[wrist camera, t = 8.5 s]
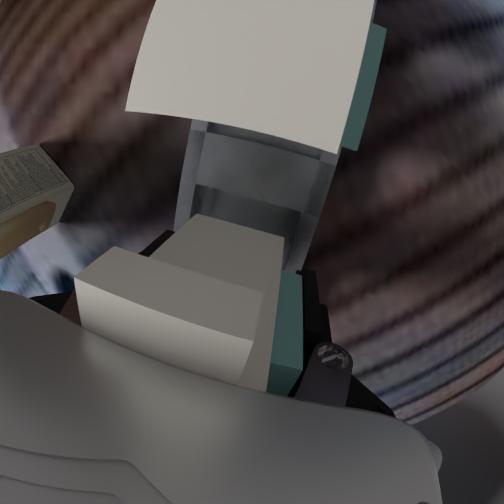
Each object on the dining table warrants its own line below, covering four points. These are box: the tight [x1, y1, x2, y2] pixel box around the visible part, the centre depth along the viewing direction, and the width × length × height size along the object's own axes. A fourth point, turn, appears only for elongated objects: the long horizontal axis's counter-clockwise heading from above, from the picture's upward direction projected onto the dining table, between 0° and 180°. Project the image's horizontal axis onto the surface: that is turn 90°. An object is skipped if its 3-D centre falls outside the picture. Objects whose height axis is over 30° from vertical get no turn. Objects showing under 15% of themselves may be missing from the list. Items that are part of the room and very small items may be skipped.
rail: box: [173, 0, 377, 274], centre depth 12 cm, size 25×7×3 cm, turn 166°
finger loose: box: [74, 214, 303, 396], centre depth 8 cm, size 6×5×9 cm
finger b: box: [125, 0, 387, 154], centre depth 7 cm, size 6×5×9 cm
